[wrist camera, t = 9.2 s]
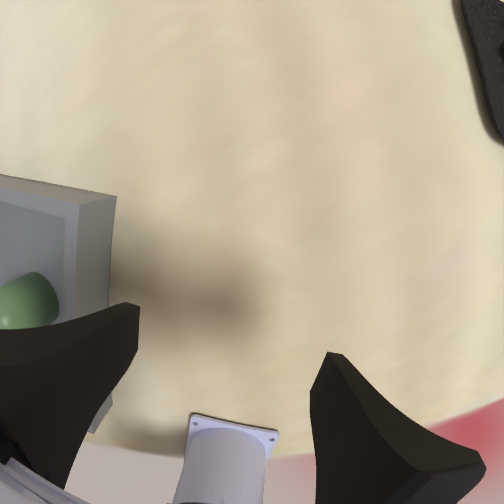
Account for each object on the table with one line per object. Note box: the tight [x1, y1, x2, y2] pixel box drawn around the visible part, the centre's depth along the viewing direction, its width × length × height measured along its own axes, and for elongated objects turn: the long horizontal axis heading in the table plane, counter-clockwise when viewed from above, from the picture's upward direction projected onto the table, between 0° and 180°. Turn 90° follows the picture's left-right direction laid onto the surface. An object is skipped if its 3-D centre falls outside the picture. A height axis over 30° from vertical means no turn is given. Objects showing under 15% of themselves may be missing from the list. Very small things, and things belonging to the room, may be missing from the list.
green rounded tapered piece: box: [0, 272, 59, 329], centre depth 18 cm, size 5×5×6 cm
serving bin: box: [0, 174, 117, 434], centre depth 20 cm, size 20×16×4 cm
